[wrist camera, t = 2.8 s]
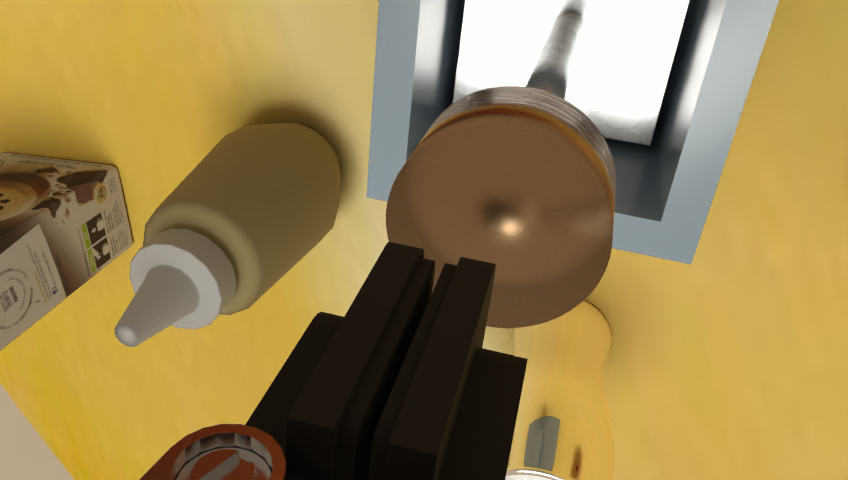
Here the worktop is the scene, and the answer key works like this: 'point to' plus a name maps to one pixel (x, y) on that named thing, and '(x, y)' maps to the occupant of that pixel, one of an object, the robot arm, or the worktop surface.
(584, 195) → the plunger
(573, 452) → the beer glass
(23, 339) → the worktop surface
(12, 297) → the coffee box
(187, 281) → the squeeze bottle
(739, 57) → the gray square open container
